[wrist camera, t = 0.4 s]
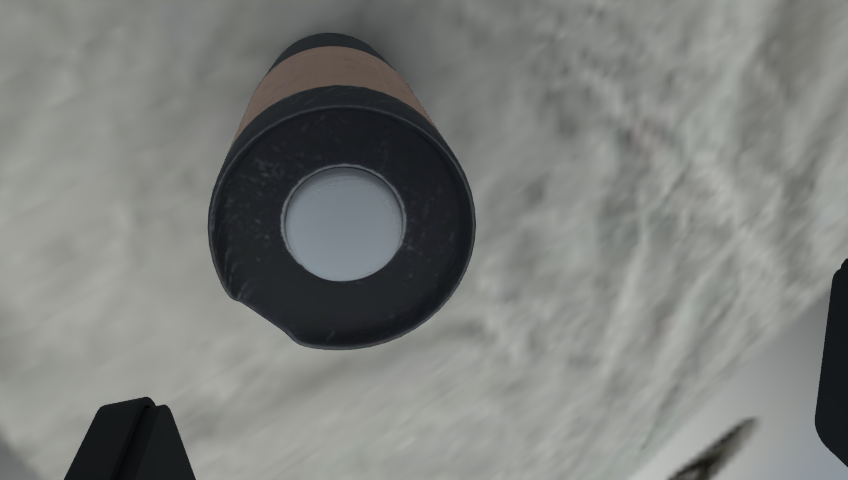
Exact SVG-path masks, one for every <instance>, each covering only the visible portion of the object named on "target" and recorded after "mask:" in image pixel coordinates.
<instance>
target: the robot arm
mask: <svg viewBox="0 0 848 480" xmlns="http://www.w3.org/2000/svg"><path fill="white" fill-rule="evenodd" d="M815 426H816V430H817V433H818V435H819V437H820V439H821V441H822V442H823V443H824V445H825V446H826V447H827V448H829V450H830V451H831V452H832V453H833V454H835V455H836V456H837V457H838V458H839V459H840V460H841V461H842V462H843V463H844V464H845V465H846V466H847V467H848V258H847V259H845V261H844V262H843V264H842V265H841V269H839V270H837V271H836V273H835V274H834V276H833V280H832V287H831V295H830V303H829V311H828V319H827V326H826V334H825V342H824V350H823V359H822V366H821V374H820V382H819V390H818V397H817V406H816V414H815ZM64 480H196V479H195V476H194V473H193V471H192V468H191V465H190V462H189V459H188V457H187V454H186V451H185V448H184V446H183V443H182V440H181V437H180V435H179V432H178V429H177V426H176V424H175V421H174V418H173V415H172V413H171V411H170V409H169V407H168V406H167V405H160V406H156V405H155V403H154V402H153V401H152V399H151V398H149V397H143V398H138V399H133V400H128V401H123V402H118V403H113V404H108V405H104V406H102V407H100V409H99V410H98V411H97V413H96V415H95V417H94V419H93V421H92V423H91V425H90V428H89V430H88V432H87V434H86V436H85V438H84V440H83V442H82V444H81V446H80V448H79V450H78V452H77V454H76V456H75V458H74V460H73V462H72V464H71V466H70V468H69V470H68V472H67V474H66V476H65V478H64Z"/></svg>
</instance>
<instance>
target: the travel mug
mask: <svg viewBox="0 0 848 480" xmlns="http://www.w3.org/2000/svg"><path fill="white" fill-rule="evenodd" d="M475 230H476V219H475V207H474V202H473V197H472V192H471V189H470V186H469V184H468V181H467V178H466V175H465V173H464V171H463V169H462V167H461V166H460V164H459V162H458V160H457V158H456V157H455V155H454V154H453V152H452V151H451V149H450V148H449V146H448V145H447V143H446V142H445V140H444V139H443V137H442V136H441V134H440V133H439V131H438V130H437V128H436V127H435V125H434V124H433V122H432V121H431V119H430V118H429V116H428V115H427V113H426V112H425V110H424V109H423V107H422V106H421V104H420V103H419V101H418V100H417V98H416V97H415V95H414V94H413V92H412V90H411V89H410V88H409V86H408V85H407V83H406V82H405V81H404V79H403V78H402V77H401V76H400V75H399V74H398V73H397V72H396V71H395V70H394V69H393V68H392V67H391V66H390V65H389V64H388V63H387V62H386V61H385V60H384V59H383V58H382V57H381V56H380V55H379V54H378V53H377V52H376V51H374V50H373V49H372V48H371V47H370V46H368V45H367V44H365V43H363V42H362V41H360V40H358V39H355V38H353V37H350V36H346V35H342V34H336V33H324V34H316V35H312V36H309V37H306V38H304V39H301V40H300V41H298V42H296V43H294V44H293V45H291V46H290V47H289V48H288V49H286V50H285V51H284V52H283V53H282V54H281V55H280V57H279V58H278V59H277V60H276V62H275V63H274V64H273V66H272V67H271V69H270V70H269V71H268V73H267V74H266V75H265V77H264V78H263V80H262V81H261V82H260V84H259V85H258V87H257V89H256V91H255V92H254V94H253V96H252V98H251V100H250V103H249V105H248V107H247V110H246V112H245V115H244V117H243V119H242V122H241V124H240V126H239V129H238V131H237V133H236V136H235V138H234V140H233V143H232V145H231V147H230V150H229V152H228V154H227V157H226V159H225V161H224V164H223V166H222V168H221V170H220V173H219V175H218V178H217V181H216V183H215V186H214V189H213V192H212V197H211V202H210V207H209V214H208V237H209V247H210V251H211V255H212V260H213V263H214V266H215V269H216V272H217V275H218V277H219V280H220V282H221V284H222V286H223V288H224V290H225V291H226V293H227V294H228V295H229V297H230V298H232V299H233V300H236V301H239V302H241V303H243V304H245V305H246V306H248V307H249V308H251V309H252V310H254V311H255V312H257V313H258V314H259V315H261V316H262V317H264V318H265V319H267V320H268V321H270V322H271V323H273V324H274V325H275V326H277V327H278V328H280V329H281V330H282V331H284V332H285V333H286V334H287V335H288V336H289V337H290V338H291V339H292V340H293V341H295V342H296V343H297V344H299V345H302V346H305V347H310V348H316V349H323V350H352V349H360V348H366V347H372V346H375V345H379V344H383V343H386V342H389V341H391V340H394V339H396V338H399V337H401V336H403V335H405V334H407V333H409V332H411V331H412V330H414V329H416V328H417V327H419V326H420V325H422V324H423V323H424V322H426V321H427V320H429V319H430V318H431V317H432V316H433V315H434V314H435V313H436V312H438V311H439V310H440V309H441V307H442V306H443V305H444V304H445V303H446V302H447V301H448V300H449V298H450V297H451V296H452V294H453V293H454V291H455V290H456V288H457V287H458V285H459V284H460V282H461V280H462V278H463V276H464V274H465V272H466V270H467V267H468V264H469V261H470V259H471V256H472V251H473V246H474V242H475Z"/></svg>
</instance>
